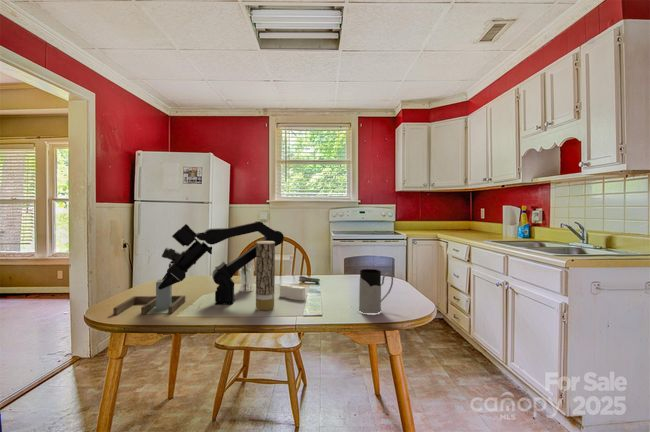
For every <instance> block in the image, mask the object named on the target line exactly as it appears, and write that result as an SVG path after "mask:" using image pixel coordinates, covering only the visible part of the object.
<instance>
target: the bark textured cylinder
mask: <svg viewBox="0 0 650 432" xmlns="http://www.w3.org/2000/svg"><path fill="white" fill-rule="evenodd" d="M255 245H256V258H255V262H256V263H255V308H256V309H257V310H258V311H263V312H264V311H271V310H273V309H274V308H275V281H276V280H275V279H276V278H275V277H276V275H275V269H276V268H275V267H276V264H275V262H276V258H275V257H276V256H275V255H276V246H275V242H274V241H261V240H258V241H256V243H255Z"/></svg>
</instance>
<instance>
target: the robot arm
mask: <svg viewBox="0 0 650 432" xmlns="http://www.w3.org/2000/svg"><path fill="white" fill-rule="evenodd" d="M255 232H258V233H259V234H261V235H262V236H263V237H262V239H261V240H260V241H274V242H275V247H277V246H279V245H281V244H283V242H284V240H285V239H284V238H285V237H284V233H282V232H281V231H279V230H276V229H273V228H271V227H269V226H268V225H266V224H264V223H263V222H262V221H257V220H256V221H254V222H250V223H246V224H241V225H236V226H233V227H232V226H231V227H225V228H224V227H223V228H222V227H221V228H208V229H206V230H205V231H203V232H195V231H194V230H193V229H192V228H190V226H189V225H188V224H187V223H184V225H183V226H182V227H180V228H179V229H177V231H175V232H174V233H173V234H172V235H171V237H172V238H173V239H174V240H175V241H176V242H177V243H178V244H180V245H181V246H182V247H185V246H186V247H188V248H187V249H186V250H184V251H181V252H179V251H176V250H175V249H173V248H170V247H165V249H164V250H163V253H161V258H164V259H168V260H170V262H169V264H168V269H166V273H165V274H164V276H163V277H162V279H164V280H163V282H162V283H161V284H160V286H159V287H158V289H160V290H161V289H163V288H166V287H168V286H170V285H172V286H173V285H175V284H177V283H180V282H182V281H184V279H185V278H186V274H187V272H188V271H189V269H191V267H193V265H196V264H197V262H198V261H199V260H200V259H201V257H203V256H205V254H206V253H208V254H209V255H212V254H213V252H212V251H213V246H212V245H216V244H218V243H221V242H223V241H225V240H227V239H229V238H234V237H238V236H243V235H247V234H252V233H255ZM200 241H203V242H200ZM209 245H211V246H209ZM253 259H254V260H255V259H256V244H255V245H254V246H252V247H251V248H249V249H248V250H246V251H245V252H244V253H242V254H241V255H239V256H238V257H237V258H235V259H234V260H232V261H230V262H228V263H226V261H222V262H221V263H220V264H219V265H218V266H215V267H214V268H215V269H214V270H213V271H212V280H213V282H214V283H215V284H216V285H218V286H216V291H214V292H215V293H214V302H215V305H233V304H234V302H235V301H236V298H235V282H234V280H233V279H232V278H233V277H234V276H235V274H236V273H237V271H238V272H239V269H240V268H242V267H243V266H245V265H246V264H247V263H249V262H250V261H251V260H253Z"/></svg>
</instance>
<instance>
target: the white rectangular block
mask: <svg viewBox="0 0 650 432" xmlns="http://www.w3.org/2000/svg"><path fill="white" fill-rule="evenodd" d="M279 297H281V298H287V299H289V300H296V301H298V300H299V301H304V300H306V287H304V286H296V285H293V284H285V283H282V284H280V285H279Z"/></svg>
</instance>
